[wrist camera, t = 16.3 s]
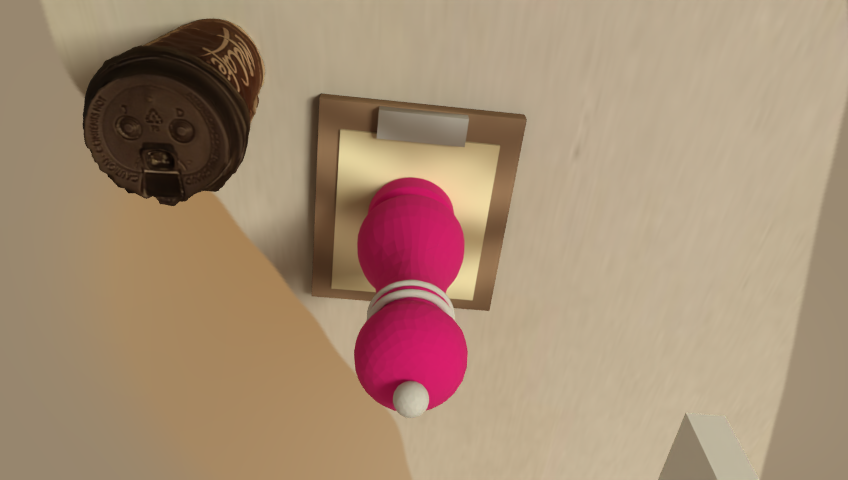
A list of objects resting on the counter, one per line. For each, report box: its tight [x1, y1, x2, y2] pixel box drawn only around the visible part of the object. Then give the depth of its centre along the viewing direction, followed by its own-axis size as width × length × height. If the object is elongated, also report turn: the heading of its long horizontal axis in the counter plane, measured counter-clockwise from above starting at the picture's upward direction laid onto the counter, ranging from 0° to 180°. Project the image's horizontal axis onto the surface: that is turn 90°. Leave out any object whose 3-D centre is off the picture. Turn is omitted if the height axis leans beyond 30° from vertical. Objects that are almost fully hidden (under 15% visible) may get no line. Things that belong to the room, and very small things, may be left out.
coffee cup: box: [83, 19, 265, 206], centre depth 41 cm, size 9×8×13 cm
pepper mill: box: [354, 177, 468, 418], centre depth 42 cm, size 7×7×20 cm
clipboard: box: [312, 94, 527, 311], centre depth 51 cm, size 16×14×2 cm
